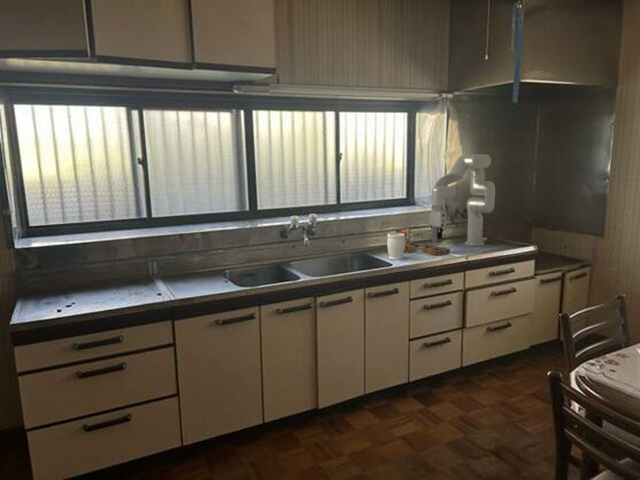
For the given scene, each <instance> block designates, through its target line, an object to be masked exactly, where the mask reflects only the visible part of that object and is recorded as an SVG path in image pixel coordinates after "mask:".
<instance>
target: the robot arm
mask: <svg viewBox="0 0 640 480" xmlns="http://www.w3.org/2000/svg"><path fill="white" fill-rule="evenodd" d="M491 163H492V158H491V157H490V155H489V154H484V153H483V154H477V153H475V154H472V153H471V154H462V155H460V156H459V157H458V158H457V160H456V162H455V163H454V164H453V166H452V168H451V170H450V171H449V172H448V173H446V174H444V175H443V176H442V177H440V178H439V179H438V180H437V182H435V184H434V186H433V187H432V189H431V209H430V214H429V215H430V216H429V224H428V226H429V227H430V229H431V231H432V230H433V226H437V227H438V239H441V238H442V239H443V232H444V231H445V230H446V229H447V214H446V210H445V209H446V207H445V201H446V200H452V199H454V198H455V197H456V195H457V191H456V188H454V187H453V186H448V185H450V184H455V183H457V182H460V181H462V180H463V178H464V176H465V175H466V173H467V171H468V170H469V172H470V183H469V184H470V185H469V186H470V187H469V190H470V191H469V192H470V194H471V195H473V196H475V197H473V196H472V197H470V198H469V199H467V201H466V209H467V239H466V241H465V242H464V245H465V246H470V247H482V246H485V242H484V241H487V240H488V238H487V237H483V231H484V230H483V229H484V227H483V225H484V218H483V215H482V213H485V214H489V213H492V212H493V211H494V209H495V202H496V201H495V200H496V199H495V198H496V186H495V184H494V182H493V181H488V180H486V181H485V171H484V169H487V168H488V167H490V166H491ZM476 196H477V197H476ZM478 196H481V197H478ZM482 196H483V197H482ZM440 228H441V229H440Z"/></svg>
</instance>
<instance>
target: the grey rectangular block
mask: <svg viewBox="0 0 640 480" xmlns="http://www.w3.org/2000/svg"><path fill="white" fill-rule="evenodd" d="M440 229H441V228H440ZM431 231H432V233H431V235H432V236H431V240H432V241H431V242H432V243H434V244H435V243H436V244H437V243H438V244H439V243H443V237H442V238H441V239H438V227H437V226H433V230H432V229H431Z"/></svg>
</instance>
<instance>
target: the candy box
mask: <svg viewBox="0 0 640 480" xmlns="http://www.w3.org/2000/svg"><path fill="white" fill-rule="evenodd" d="M394 233H403V234H405V236H404V240H405V247H404V253H403V254H410V253H411V228H402V227H396V228H395V230H394Z"/></svg>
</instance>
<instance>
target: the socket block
mask: <svg viewBox="0 0 640 480" xmlns="http://www.w3.org/2000/svg"><path fill="white" fill-rule="evenodd" d="M442 247H443V246H436V245H432V244H425V245H420V246H415V248H414V250H415V253H416V254H420V255H424V256H427V257H431V258H434V259H435V258H436V257H437V256H443V255H444V256H445V255H448V254H450V251H451V248H450V249H446V248H447V247H446V248H442Z"/></svg>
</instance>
